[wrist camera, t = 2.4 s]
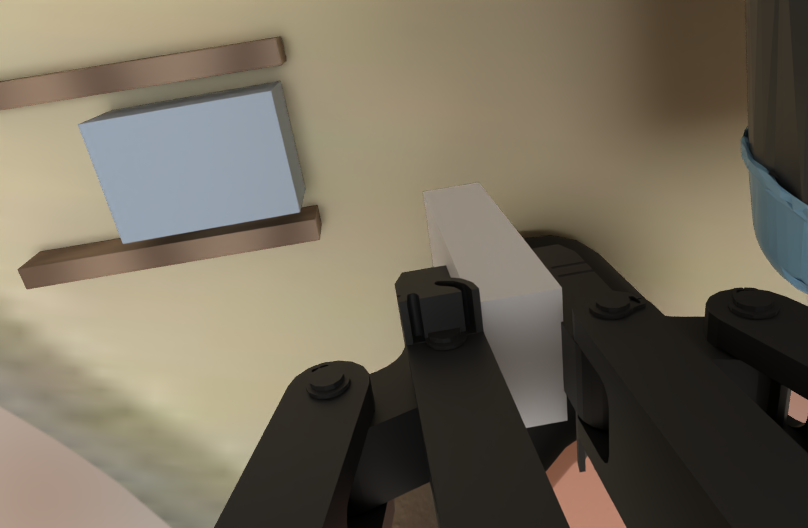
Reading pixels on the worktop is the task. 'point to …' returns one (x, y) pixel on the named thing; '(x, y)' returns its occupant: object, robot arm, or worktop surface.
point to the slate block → (196, 162)
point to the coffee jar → (557, 442)
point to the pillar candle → (415, 509)
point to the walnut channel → (171, 248)
